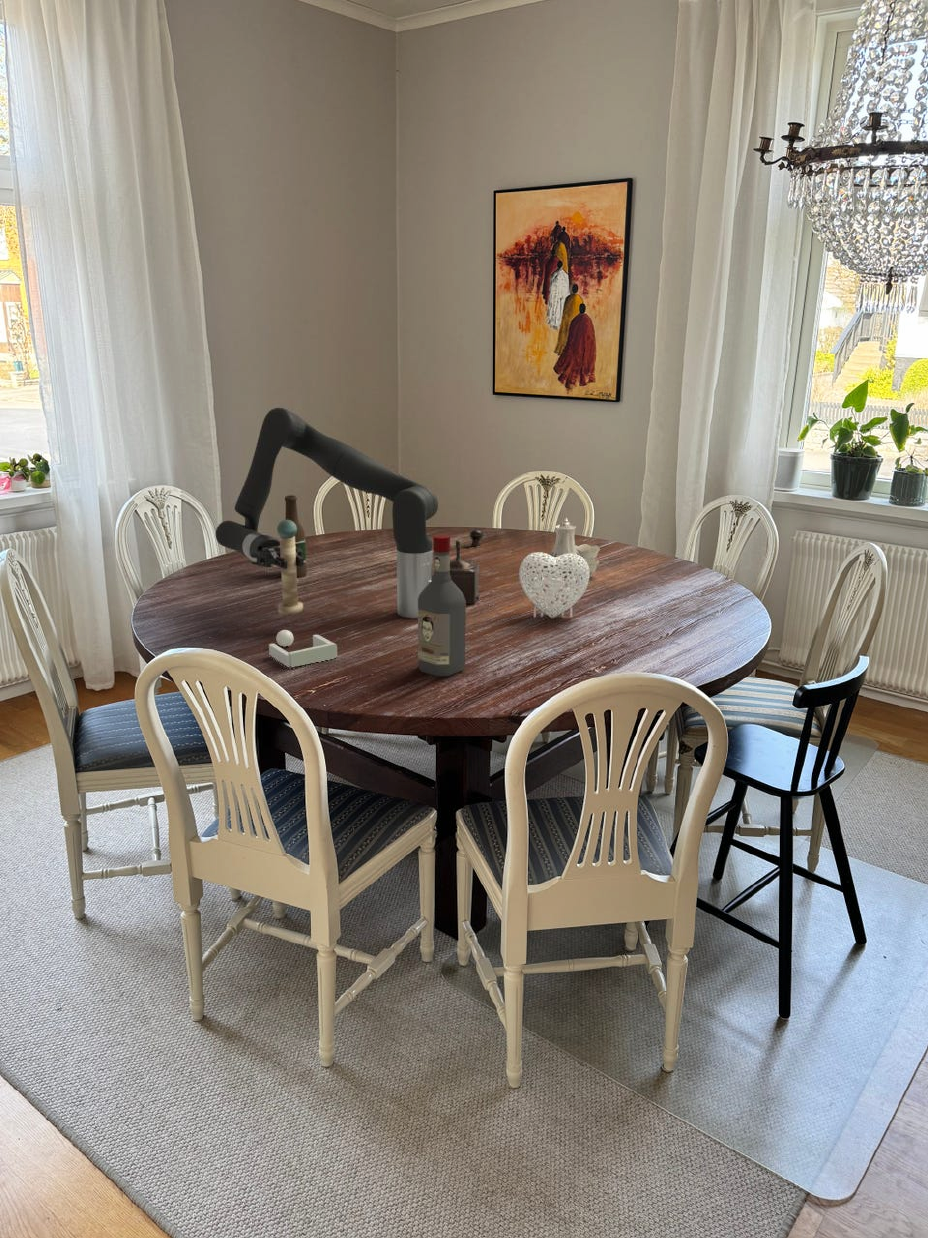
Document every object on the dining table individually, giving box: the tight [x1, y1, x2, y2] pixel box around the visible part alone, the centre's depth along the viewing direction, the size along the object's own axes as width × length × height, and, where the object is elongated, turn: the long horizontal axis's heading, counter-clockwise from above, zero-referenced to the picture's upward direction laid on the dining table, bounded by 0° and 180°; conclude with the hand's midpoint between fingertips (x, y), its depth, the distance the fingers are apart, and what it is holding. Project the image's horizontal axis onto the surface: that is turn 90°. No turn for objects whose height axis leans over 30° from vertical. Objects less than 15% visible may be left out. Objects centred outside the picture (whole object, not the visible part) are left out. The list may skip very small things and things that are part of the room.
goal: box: [268, 634, 338, 667], centre depth 213 cm, size 10×12×4 cm
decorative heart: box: [518, 551, 591, 619], centre depth 242 cm, size 18×11×17 cm, turn 83°
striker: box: [276, 519, 304, 615], centre depth 226 cm, size 6×6×23 cm
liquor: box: [417, 534, 467, 678], centre depth 203 cm, size 9×9×30 cm
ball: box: [275, 629, 294, 648], centre depth 220 cm, size 4×4×4 cm
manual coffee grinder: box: [450, 529, 484, 606], centre depth 259 cm, size 16×11×18 cm
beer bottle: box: [284, 494, 307, 579], centre depth 277 cm, size 8×8×24 cm
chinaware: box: [546, 517, 601, 579], centre depth 289 cm, size 28×17×17 cm, turn 177°
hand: (293, 563), depth 224 cm, fingers closed on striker, 3 cm apart
